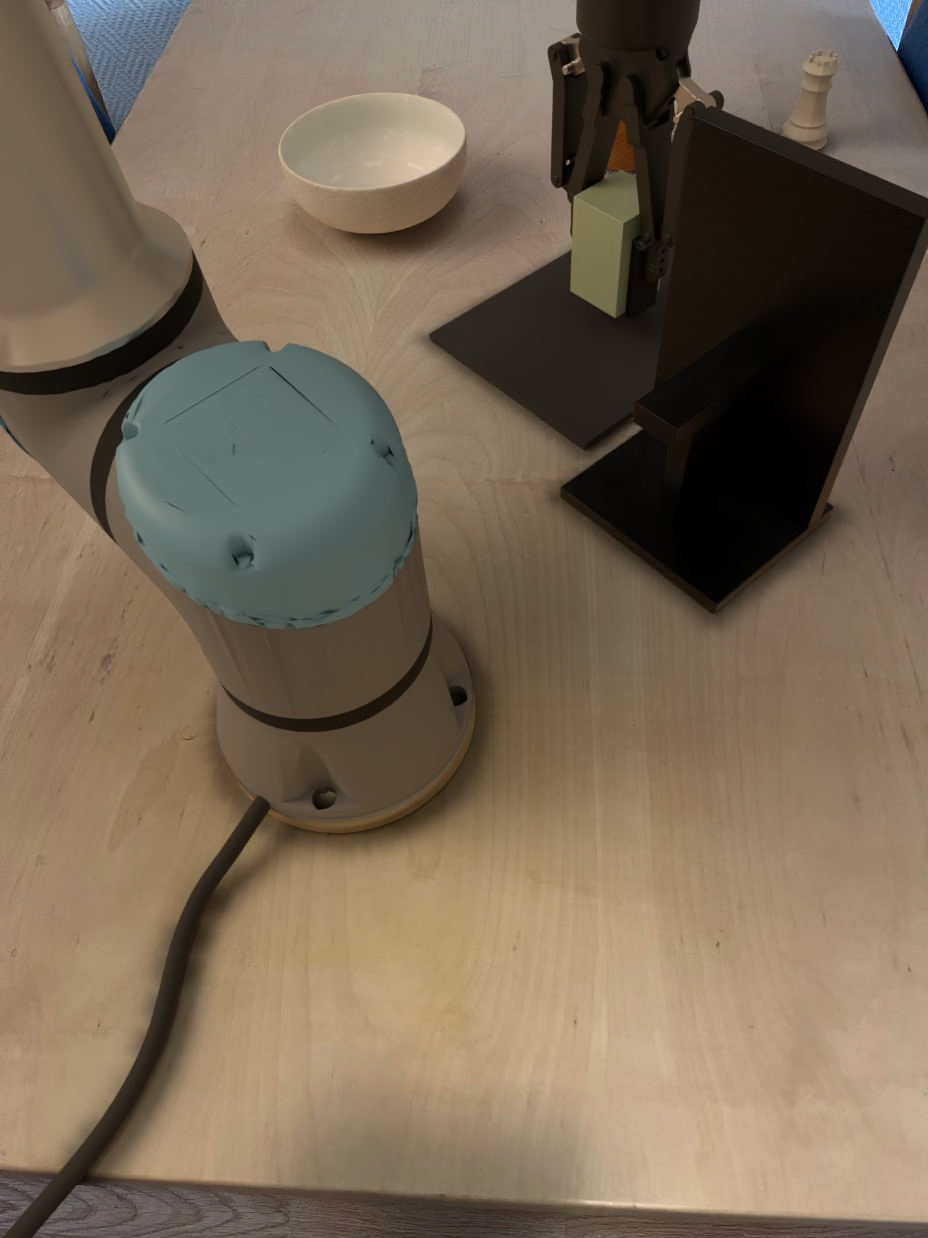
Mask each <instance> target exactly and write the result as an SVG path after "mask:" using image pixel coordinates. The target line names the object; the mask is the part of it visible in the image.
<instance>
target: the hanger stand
mask: <svg viewBox="0 0 928 1238" xmlns="http://www.w3.org/2000/svg"><path fill="white" fill-rule="evenodd" d="M927 251H928V197H927V196H924V195H921V194H920V193H918V192H915V191H913V190H910V189H907V188H905V187H904V186H902V185H898V184H896V183H894V182H891V181H889V180H886V179H884V178H882V177H879V176H878V175H876V174H873V173H871V172H868V171H866V170H863V169H862V168H859V167H857V166H855V165H851V164H849V163H847V162H845V161H842V160H840V159H838V158H835V157H833V156H831V155H828V154H826V153H823V152H822V151H820V150H818V151H817V150H814V149H812V148H810V147H807V146H805V145H803V144H800V143H798V142H796V141H793V140H791V139H789V138H786V137H784V136H782V135H781V134H779V133H777V132H775V131H772V130H770V129H767V128H765V127H763V126H761V125H758V124H756V123H754V122H751V121H749V120H747V119H744V118H742V117H739V116H737V115H735V114H733V113H730V112H728V111H725V110H724V109H722V110H721V109H718V108H716V107H714V106H709V107H708V108H706V109H704V110H702V111H700V112H699V113H697V114H695V115H694V116H693V120H692V127H691V134H690V141H689V148H688V155H687V162H686V169H685V176H684V183H683V190H682V197H681V204H680V211H679V218H678V225H677V232H676V239H675V246H674V253H673V259H672V266H671V273H670V280H669V287H668V294H667V301H666V308H665V315H664V322H663V329H662V336H661V343H660V350H659V357H658V364H657V371H656V378H655V385H654V389H653V390H652V391H650V392H649V393H647V394H646V395H644V396H643V397H641V398H640V399H639V400H637V401H636V402H635V404H634V413H633V417H632V422H633V423H634V424H636V425H637V426H639V427H640V428H642V429H640V430H639V431H638V432H636V433H635V434H633V435H632V436H631V437H629V438H627V440H625V441H624V442H622V443H621V444H619V445H618V446H617V447H615V448H614V449H612V450H611V451H610V452H608V453H607V454H605V455H604V456H602V457H601V458H600V459H598V460H597V461H595V462H594V463H593V464H591V465H590V466H588V467H587V468H585V469H584V470H582V472H580V473H578V474H577V475H575V476H574V477H573V478H572V479H570V480H569V481H567V482H566V483H565V484H563V485H562V486H560V488H559V496H560V497H559V498H561V499H562V500H563V501H565V502H566V503H568V504H569V505H570V506H572V507H573V508H574V509H575V510H577V511H578V512H579V513H581V514H582V515H583V516H585V517H586V518H587V519H589V520H590V521H591V522H592V523H594V524H595V525H596V526H598V527H599V528H600V529H601V530H603V531H604V532H605V533H607V534H608V535H610V536H611V537H612V538H613V539H615V540H616V541H618V543H620V544H621V545H622V546H623V547H625V548H627V549H628V550H629V551H631V552H632V553H633V554H634V555H636V556H637V557H638V558H640V559H641V560H643V562H645V563H646V564H648V565H649V566H650V567H652V568H653V569H654V570H655V571H657V572H658V573H659V574H661V575H662V577H664V578H666V579H667V580H669V581H670V582H671V583H672V584H674V585H675V586H676V587H677V588H679V589H680V590H682V591H683V592H684V593H685V594H686V595H688V596H689V597H691V598H692V599H693V600H694V601H696V602H697V603H698V604H700V605H701V606H703V607H704V608H705V609H706V610H708V611H709V612H710V613H712V614H713V615H714V614H716V613H717V612H718V611H720V610H721V609H723V607H725V605H727V604H728V603H729V602H731V601H732V600H733V599H735V597H736V596H737V595H738V594H740V593H741V592H742V591H743V590H745V589H746V588H747V587H748V586H749V585H751V584H752V583H753V582H754V581H755V580H757V579H758V578H759V577H760V576H761V575H763V573H765V572H766V571H767V570H768V569H770V568H771V567H772V566H774V565H775V564H776V563H777V562H778V561H779V560H780V559H781V558H783V556H785V555H787V553H788V552H790V551H791V550H792V549H793V548H794V547H796V546H797V545H799V543H801V541H803V540H804V539H805V538H806V537H807V536H809V535H810V534H811V533H812V532H814V530H816V529H817V528H818V527H820V525H822V524H823V523H824V522H826V520H828V519H829V518H830V517H831V516H832V513H833V511H834V509H835V506H834V505H833V504H831V503H830V502H828V500H829V498H830V495H831V494H832V491H833V488H834V485H835V483H836V480H837V478H838V476H839V473H840V470H841V468H842V466H843V463H844V460H845V459H846V458H845V457H846V455H847V452H848V450H849V448H850V445H851V442H852V440H853V438H854V435H855V432H856V430H857V428H858V424H859V423H860V419H861V417H862V415H863V412H864V410H865V407H866V404H867V402H868V399H869V397H870V395H871V392H872V390H873V387H874V385H875V382H876V379H877V377H878V374H879V371H880V369H881V366H882V364H883V361H884V359H885V356H886V354H887V351H888V349H889V347H890V345H891V342H892V339H893V336H894V334H895V331H896V328H897V326H898V325H899V324H898V323H899V321H900V319H901V316H902V314H903V311H904V308H905V306H906V304H907V301H908V299H909V296H910V293H911V291H912V288H913V287H914V283H915V281H916V278H917V275H918V272H919V271H920V268H921V266H922V263H923V261H924V258H925V256H926V253H927Z"/></svg>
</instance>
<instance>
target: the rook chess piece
mask: <svg viewBox="0 0 928 1238" xmlns="http://www.w3.org/2000/svg"><path fill="white" fill-rule="evenodd" d="M823 51H824V49H822V48H819V49H817V50H816V51H814V50H812V51H811V52H810V53H809V55H808V58H807V59H806V60H805V61H804V62H803V64H802V66H801V68H802V70H803V73H804V74H805V75H804V78H803V79H802V80H801V82H800V85H801V91H800V94H799V98H798V101H797V103H796V106H795V108H794V110H793V112H792V113H791V114H790V115H789V118H788V119H787V120H785V122H784V124H783V126H782V129H781V130H782V133H780V135H782V136H784V137H786V138H789V139H791V140H793V141H796V142H798V143H800V144H803V145H805V146H807V147H810V148H812V149H814V150H817V151H820V150H821V149H822V148H823V147H824V146H825V145H826V144H827V142H828V138H827V136H828V134H829V131H830V129H829V124H828V122H827V120H828V117H827V116H826V108H827V100H828V95H829V91H830V90H831V89H833V83H832V78H833V77H834V76H835V75H836V74H837V73H838V72H839V70H840V66H839V63H838V57H839V55H838V53H837V52H836V53H834V51H833V50H830V49H827V51H826V54H823Z"/></svg>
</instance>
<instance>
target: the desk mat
mask: <svg viewBox="0 0 928 1238" xmlns="http://www.w3.org/2000/svg"><path fill="white" fill-rule="evenodd" d="M673 253H674V246H673V247H672V248H670V251H669V258H668V266H667V271H666V273H665V275H664V276H662V277H661V278H660V286H659V290H658V291H657V296H656V304H655V305H654V306H652V307H651V308H649V309H648V310H646V311H644V312H643V313H641V314H640V315H638V316H637V317H635V318H634V319H632V320H631V319H629V318H628V317H626V316H625V312H624V313H623V314H621V315H620V316H618V317H617V318H614V317H612V316H611V315H609V314H607V313H606V312H604V311H603V310H601V309H599V308H598V307H596V306H594V305H593V304H591V303H589V302H588V301H586V300H584V299H583V298H581V297H579V296H578V295H576V294H575V293H573V292H571V291H570V284H571V257H572V249H570V250H569V251H567V252H565V253H563V254H562V255H560V256H559V257H557V258H555V259H553V260H551V261H549V262H548V263H547V264H545V265H543V266H541V267H540V268H539V269H536V270H535V271H533V272H531V273H530V274H528V275H526V276H524V277H523V278H521V279H519V280H518V281H516V282H514V283H513V284H511V285H509V286H507V287H506V288H504V289H502V290H501V291H499V292H497V293H496V294H494V295H492V296H490V297H489V298H487V299H485V300H484V301H481V303H479V304H477V305H476V306H474V307H472V308H470V309H468V310H467V311H465V312H463V313H462V314H460V315H459V316H457V317H455V318H453V319H452V320H450V321H448V322H447V323H444V324H443V325H442V326H440V327H438V328H437V329H435V330H433V331H431V332H430V333H429V334H428V336H429V340H430V341H431V342H432V343H434V344H435V345H437V346H438V347H440V348H441V349H442V350H444V351H445V352H447V353H448V354H449V355H451V356H452V357H453V358H454V359H456V360H457V361H458V362H461V363H462V364H463V365H464V366H466V367H467V368H469V369H470V370H472V371H473V372H474V373H476V374H477V375H478V376H479V377H481V378H483V379H484V380H485V381H487V382H488V383H489V384H491V385H493V386H494V387H495V388H497V389H498V390H499V391H501V392H502V393H503V394H505V395H507V396H508V397H510V398H511V399H512V400H514V401H515V402H516V403H518V404H519V405H521V406H522V407H523V408H525V409H526V410H528V411H529V412H530V413H531V414H533V415H535V416H536V417H538V418H539V420H541V421H543V422H544V423H546V424H547V425H549V427H551V428H553V429H554V430H555V431H557V432H558V433H560V434H561V435H562V436H564V437H565V438H566V439H568V440H570V441H571V442H572V443H574V444H575V445H576V446H578V447H579V448H581V449H582V450H584V451H586V450H587V449H589V448H590V447H592V446H593V445H595V444H596V443H597V442H598V441H600V440H601V439H603V438H605V437H606V436H608V435H609V434H610V433H611V432H613V431H614V430H616V429H617V428H619V427H620V426H622V425H623V424H625V423H626V422H627V421H629V420H630V419H632V418H633V413H634V404H635V402H636V401H637V400H639V399H640V398H641V397H643V396H644V395H646V394H647V393H649V392H650V391H652V390H653V389H654V385H655V378H656V371H657V364H658V357H659V350H660V343H661V336H662V329H663V322H664V315H665V308H666V301H667V294H668V287H669V280H670V273H671V266H672V259H673Z"/></svg>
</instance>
